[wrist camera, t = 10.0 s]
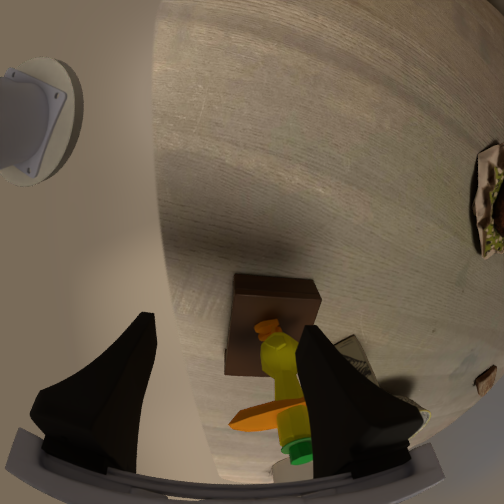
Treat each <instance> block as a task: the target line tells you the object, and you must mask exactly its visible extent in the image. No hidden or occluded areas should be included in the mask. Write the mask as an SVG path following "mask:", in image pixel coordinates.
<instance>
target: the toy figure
mask: <svg viewBox="0 0 504 504" xmlns="http://www.w3.org/2000/svg"><path fill="white" fill-rule="evenodd" d="M278 325H279V322H278V319H273V320H266V321H262V322H260V323H258V324H257V325H255V326H254V330H255V332H256V333H260V334H258V338H259V340H260V341H264V342H263V343H262V345H261V354H260V356H261V364H262V371H264V372H265V373H267V374H268V375H269V376H271V377H272V378H273V379H275V401H272V402H268V403H265V404H261V405H258V406H254V407H250V408H247V409H244V410H240V411H239V412H238V413H237V414H236V416H235V417H234V418H233V419H232V420H231V422H230V423H229V424H228V425H229V426H230V427H231V428H232V429H234V430H239V431H245V432H253V431H263V430H269V429H275V428H278V435H279V442H280V446H282V449H281V452H282V453H284V454H289V456H290V463H291V465H301V464H305V463H308V462H310V461H312V460H313V454H312V440H311V431H310V423H309V416H308V411H307V406H306V402H305V399H304V395H303V391H302V389H301V386H300V384H299V381H298V379H297V376H296V374H297V373H298V372H297V366H296V358H295V352H296V349H297V346H298V342H297V341H296V340H294V339H293V338H292V337H290V336H289V335H287V334H285V333H283V332H282V329H281V328H280V326H279V327H277V326H278Z"/></svg>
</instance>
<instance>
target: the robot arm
mask: <svg viewBox="0 0 504 504" xmlns="http://www.w3.org/2000/svg"><path fill="white" fill-rule="evenodd" d="M14 74H15V76H14ZM58 93H59V97H58V98H57V94H58ZM66 100H67V93H66V92H64V91H62V90H60V89H58V88H56V87H54V86H52V85H50V84H48V83H45V82H43V81H41V80H39V79H37V78H35V77H32V76H30V75H28V74H26V73H24V72H21V71H19V70H17V69H15V68H8V70H7V71H6V73H5V76H4V77H0V170H1V169H4V168H6V167H9V166H12V165H13V166H15V167H16V168H18V169H19V170H20V171H22V172H23V173H25V174H26V175H28V176H29V177H30V178H35V177H37V175H38V172H39V169H40V166H41V163H42V160H43V157H44V154H45V151H46V148H47V145H48V142H49V140H50V137H51V134H52V132H53V129H54V127H55V124H56V122H57V120H58V117H59V115H60V113H61V110H62V108H63V106H64V104H65V102H66ZM30 169H31V172H30ZM156 349H157V336H156V327H155V316H154V313H148V312H141V313H140V314H139V315H138V316H137V318H136V319H135V320H134V321H133V322H132V323H131V325H130V326H129V327H128V328H127V329H126V330H125V331H124V332H123V333H122V335H121V336H120V337H119V338H118V339H117V340H116V341H115V342H114V343H113V344H112V345H111V346H110V347H109V348H108V349H107V350H106V351H104V352H103V353H102V354H101V355H100V356H99V357H98V358H96V359H95V360H94V361H93V362H91V363H90V364H89V365H87V366H86V367H85V368H83V369H82V370H80V371H79V372H77V373H76V374H74V375H72V376H70V377H68V378H67V379H65V380H63V381H61V382H59V383H57V384H55V385H52V386H50V387H48V388H45V389H43V390H40V392H39V393H38V395H37V397H36V399H35V402H34V404H33V406H32V409H31V411H30V417H31V419H32V420H33V421H34V423H35V424H36V425H37V426H38V427H39V428H40V430H41V431H42V432H43V433H44V434H45V438H44V440H43V439H41V438H40V437H38V436H36V435H34V434H32V433H30V432H28V431H26V430H24V429H22V428H18V431H17V434H16V436H15V439H14V442H13V445H12V448H11V451H10V454H9V457H8V460H7V463H6V466H5V469H6V470H7V471H8V472H10V473H11V474H13V475H14V476H16V477H17V478H19V479H20V480H22V481H23V482H25V483H27V484H29V485H30V486H32V487H33V488H35V489H37V490H39V491H41V492H43V493H45V494H47V495H49V496H51V497H54V498H56V499H58V500H60V501H62V502H65V503H67V504H398V503H400V502H402V501H405V500H407V499H409V498H411V497H414V496H416V495H418V494H420V493H421V492H423V491H425V490H427V489H429V488H431V487H432V486H434V485H436V484H438V483H439V482H441V481H443V480H444V479H445V476H444V473H443V471H442V468H441V466H440V464H439V461H438V459H437V457H436V454H435V452H434V449H433V447H432V445H431V443H427V444H424V445H422V446H419V447H417V448H414V449H412V450H411V451H408V448H407V447H408V446H409V445H410V443H409V441H408V439H409V438H410V437H411V436H412V435H413V434H415V433H416V432H417V431H418V430H419V429H420V428H421V426H422V425H423V423H424V420H423V418H422V416H421V413H420V411H419V409H418V408H417V407H416V406H414V405H412V404H410V403H407V402H405V401H403V400H401V399H399V398H397V397H395V396H393V395H391V394H390V393H388V392H386V391H385V390H383V389H382V388H380V387H379V386H377V385H376V384H374V383H373V382H372V381H370V380H369V379H368V378H367V377H365V376H364V375H363V374H362V373H361V372H359V371H358V370H357V369H356V368H355V367H354V366H353V365H352V364H351V363H350V362H349V361H348V360H347V359H346V358H345V357H344V356H343V355H342V354H341V353H340V352H339V351H338V350H337V348H336V347H335V346H334V345H333V344H332V343H331V342H330V340H329V339H328V338H327V337H326V336H325V335H324V333H323V332H322V331H321V330H320V329H319V327H318V326H317V325H305V326H304V329H303V332H302V335H301V338H300V340H299V343H298V346H297V349H296V352H295V358H296V366H297V372H298V376H299V380H300V384H301V388H302V391H303V395H304V399H305V402H306V406H307V411H308V416H309V423H310V431H311V440H312V454H313V479H310V480H302V481H294V482H284V483H271V484H250V485H249V484H247V485H232V484H229V485H228V484H206V483H193V482H184V481H175V480H168V479H162V478H156V477H149V476H145V475H140V474H136V458H137V443H138V432H139V422H140V416H141V409H142V403H143V399H144V395H145V392H146V388H147V385H148V381H149V378H150V374H151V371H152V368H153V364H154V360H155V355H156ZM165 495H167V496H174V497H182V498H193V499H204V500H199V501H187V500H172V499H168V497H167V496H165ZM298 496H301V497H298Z"/></svg>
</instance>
